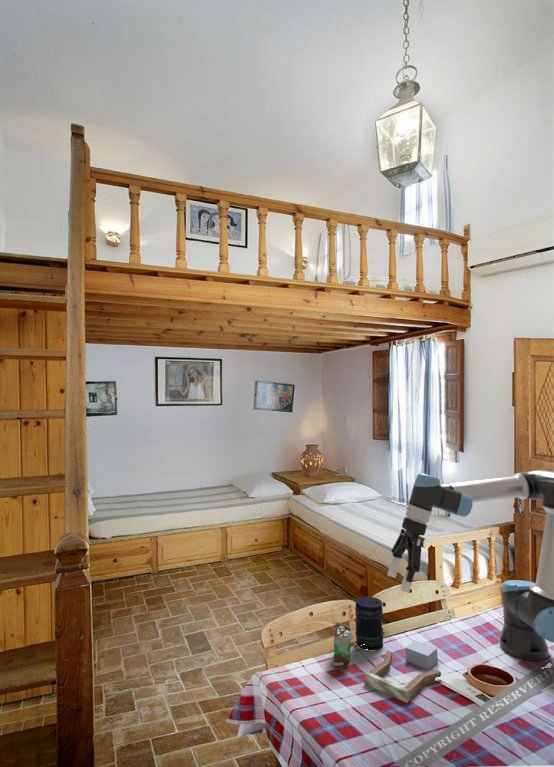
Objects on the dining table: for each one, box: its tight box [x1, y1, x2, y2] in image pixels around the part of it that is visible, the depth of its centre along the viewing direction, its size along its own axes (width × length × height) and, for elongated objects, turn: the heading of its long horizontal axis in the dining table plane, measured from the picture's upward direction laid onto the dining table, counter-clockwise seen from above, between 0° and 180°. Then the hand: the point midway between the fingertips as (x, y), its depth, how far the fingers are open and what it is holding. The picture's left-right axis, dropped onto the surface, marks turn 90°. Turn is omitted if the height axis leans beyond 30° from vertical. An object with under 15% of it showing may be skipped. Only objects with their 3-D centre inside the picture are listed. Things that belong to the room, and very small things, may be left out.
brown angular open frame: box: [363, 650, 442, 704], centre depth 136 cm, size 19×18×3 cm
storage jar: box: [354, 596, 384, 651], centre depth 159 cm, size 10×10×15 cm
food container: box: [333, 622, 354, 669], centre depth 147 cm, size 12×6×10 cm, turn 168°
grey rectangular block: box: [405, 640, 439, 671], centre depth 147 cm, size 8×7×4 cm
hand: (397, 583), depth 142 cm, fingers open, 13 cm apart
